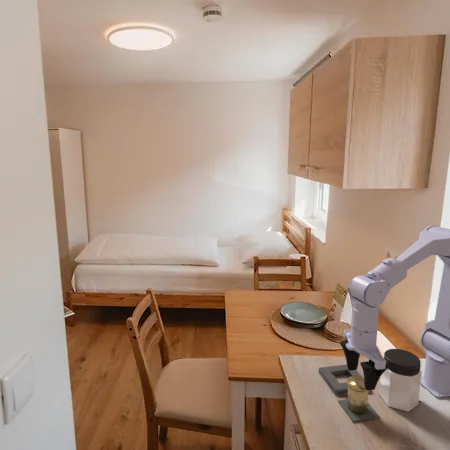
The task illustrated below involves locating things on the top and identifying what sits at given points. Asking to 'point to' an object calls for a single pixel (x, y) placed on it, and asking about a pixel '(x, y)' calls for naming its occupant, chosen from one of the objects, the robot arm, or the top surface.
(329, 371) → the housing
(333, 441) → the top surface
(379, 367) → the robot arm
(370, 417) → the mat
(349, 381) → the gold rounded piece
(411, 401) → the jar
